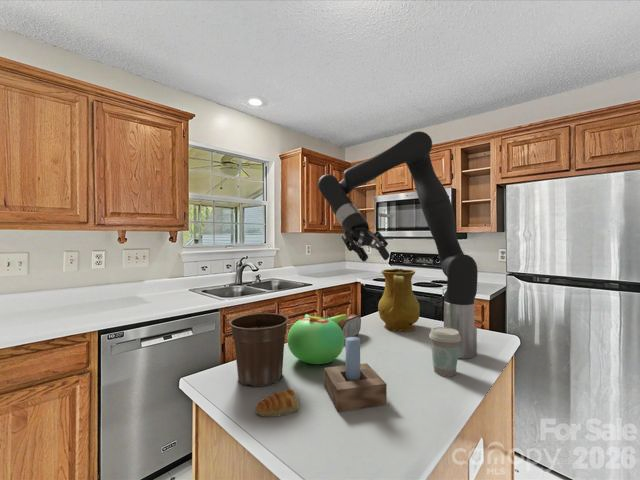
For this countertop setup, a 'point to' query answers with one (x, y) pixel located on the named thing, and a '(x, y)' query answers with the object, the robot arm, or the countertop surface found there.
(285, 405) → the pastry
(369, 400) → the socket block
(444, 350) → the coffee cup
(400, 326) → the pitcher
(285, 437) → the countertop surface
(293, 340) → the green round piece
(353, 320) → the tin
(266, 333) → the plant pot
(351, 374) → the dowel
